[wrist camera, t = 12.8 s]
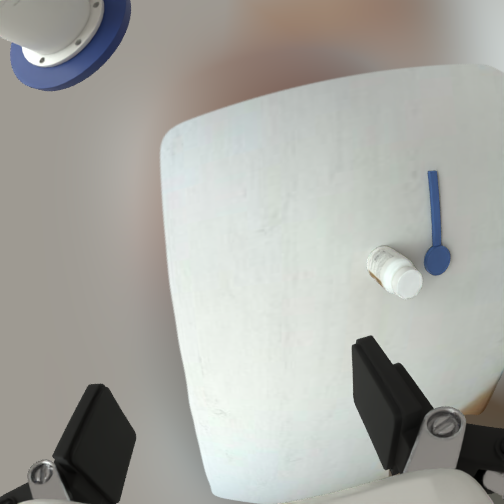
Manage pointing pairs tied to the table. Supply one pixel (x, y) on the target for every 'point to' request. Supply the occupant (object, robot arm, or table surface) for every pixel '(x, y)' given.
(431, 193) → the spoon
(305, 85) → the table surface
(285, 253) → the table surface
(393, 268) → the pill bottle
